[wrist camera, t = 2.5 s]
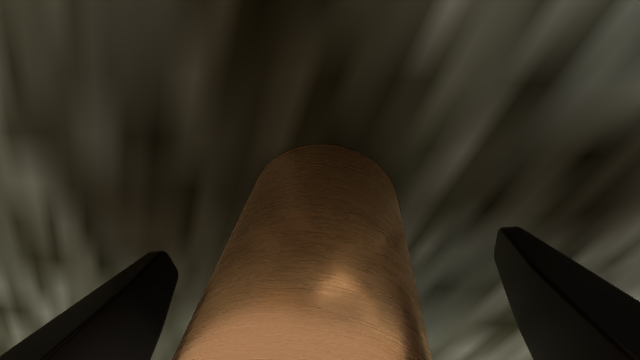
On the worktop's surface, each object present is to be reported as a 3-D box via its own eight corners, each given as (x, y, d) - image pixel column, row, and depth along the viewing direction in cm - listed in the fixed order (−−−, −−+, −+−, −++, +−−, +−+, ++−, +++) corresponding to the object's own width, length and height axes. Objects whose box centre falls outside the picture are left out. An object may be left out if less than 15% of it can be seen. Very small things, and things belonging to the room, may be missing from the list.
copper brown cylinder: (394, 135, 8) (612, 895, 1) (400, 255, 10) (489, 750, 4) (234, 154, 9) (-141, 704, 2) (273, 263, 11) (156, 687, 4)
